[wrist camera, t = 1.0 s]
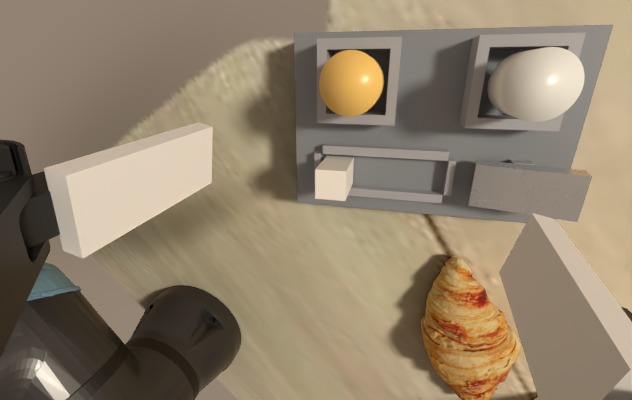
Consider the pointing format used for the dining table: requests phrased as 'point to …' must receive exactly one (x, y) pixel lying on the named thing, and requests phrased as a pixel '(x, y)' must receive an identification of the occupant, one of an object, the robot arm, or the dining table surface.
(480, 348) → the croissant
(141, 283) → the dining table surface
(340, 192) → the slider knob
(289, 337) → the dining table surface
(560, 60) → the white button
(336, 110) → the amber button
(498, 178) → the plate
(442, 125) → the panel
